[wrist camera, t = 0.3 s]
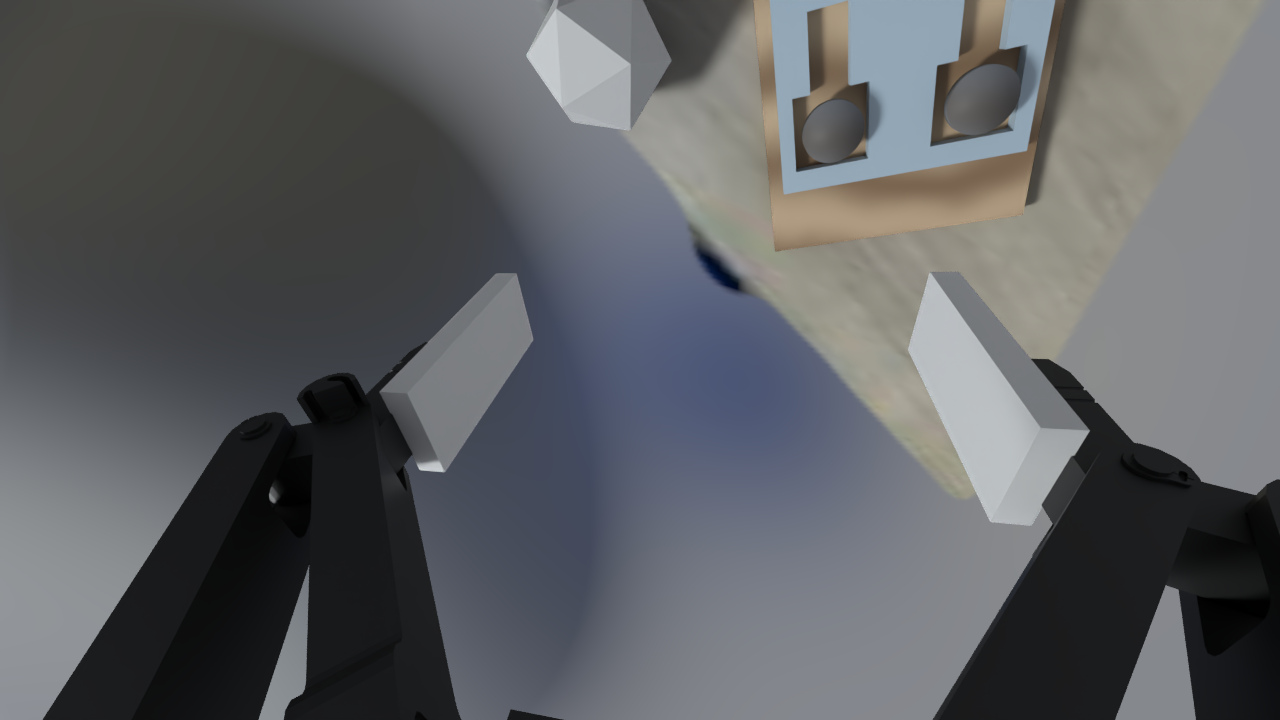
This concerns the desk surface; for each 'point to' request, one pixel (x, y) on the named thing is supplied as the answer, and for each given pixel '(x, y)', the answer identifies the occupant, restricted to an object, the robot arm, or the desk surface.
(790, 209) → the board
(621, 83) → the die
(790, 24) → the panel
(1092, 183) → the desk surface
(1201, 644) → the robot arm
